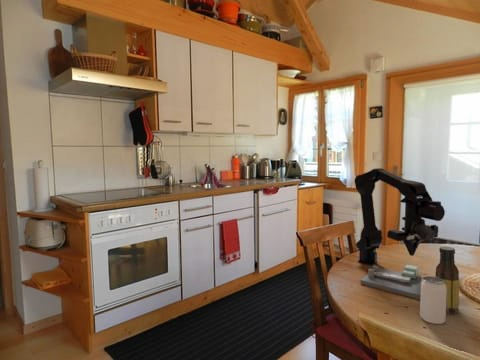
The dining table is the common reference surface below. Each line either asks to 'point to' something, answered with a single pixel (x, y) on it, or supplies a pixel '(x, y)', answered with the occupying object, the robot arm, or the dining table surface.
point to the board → (393, 283)
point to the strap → (392, 276)
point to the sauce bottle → (449, 278)
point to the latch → (410, 271)
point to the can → (433, 300)
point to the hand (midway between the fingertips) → (411, 255)
